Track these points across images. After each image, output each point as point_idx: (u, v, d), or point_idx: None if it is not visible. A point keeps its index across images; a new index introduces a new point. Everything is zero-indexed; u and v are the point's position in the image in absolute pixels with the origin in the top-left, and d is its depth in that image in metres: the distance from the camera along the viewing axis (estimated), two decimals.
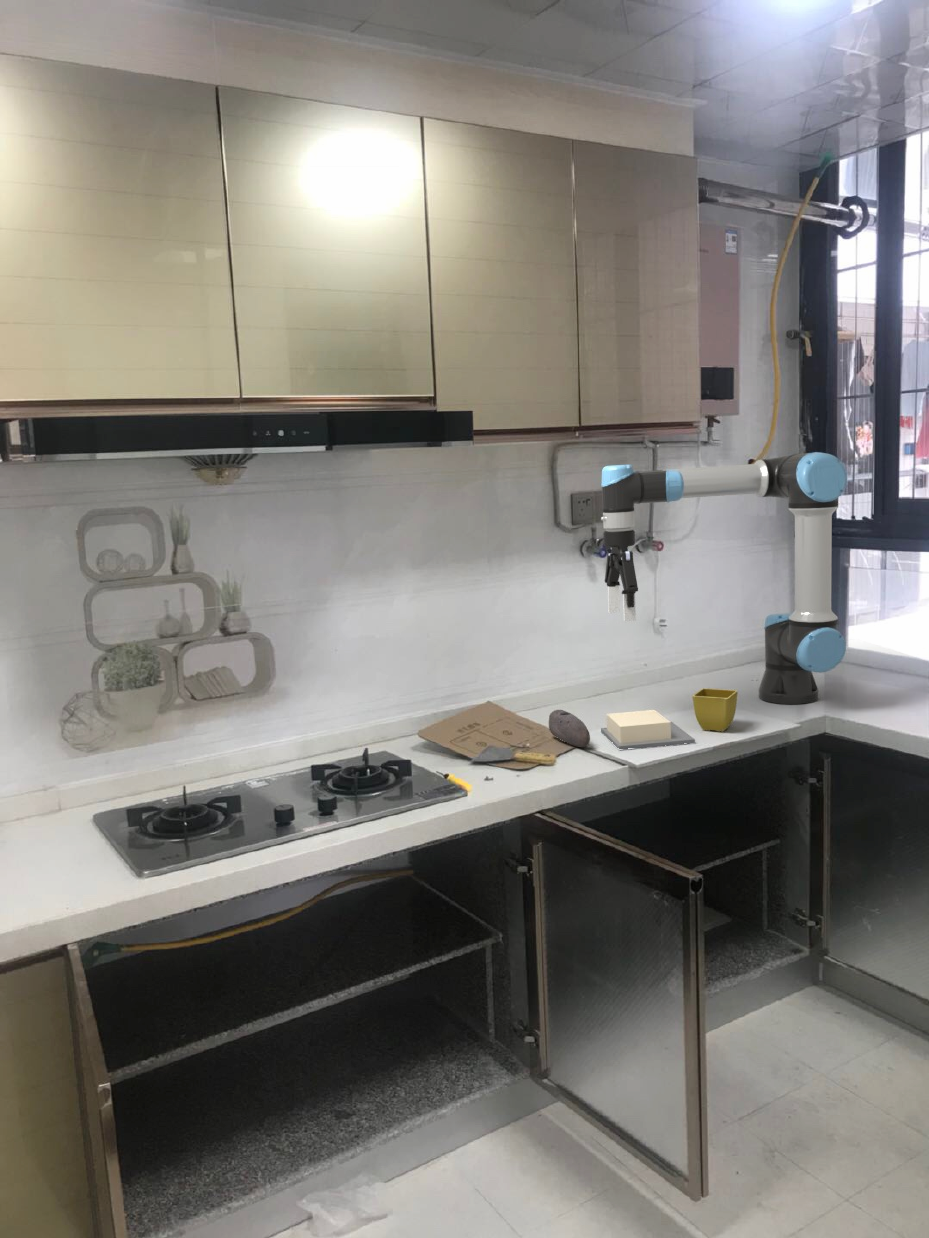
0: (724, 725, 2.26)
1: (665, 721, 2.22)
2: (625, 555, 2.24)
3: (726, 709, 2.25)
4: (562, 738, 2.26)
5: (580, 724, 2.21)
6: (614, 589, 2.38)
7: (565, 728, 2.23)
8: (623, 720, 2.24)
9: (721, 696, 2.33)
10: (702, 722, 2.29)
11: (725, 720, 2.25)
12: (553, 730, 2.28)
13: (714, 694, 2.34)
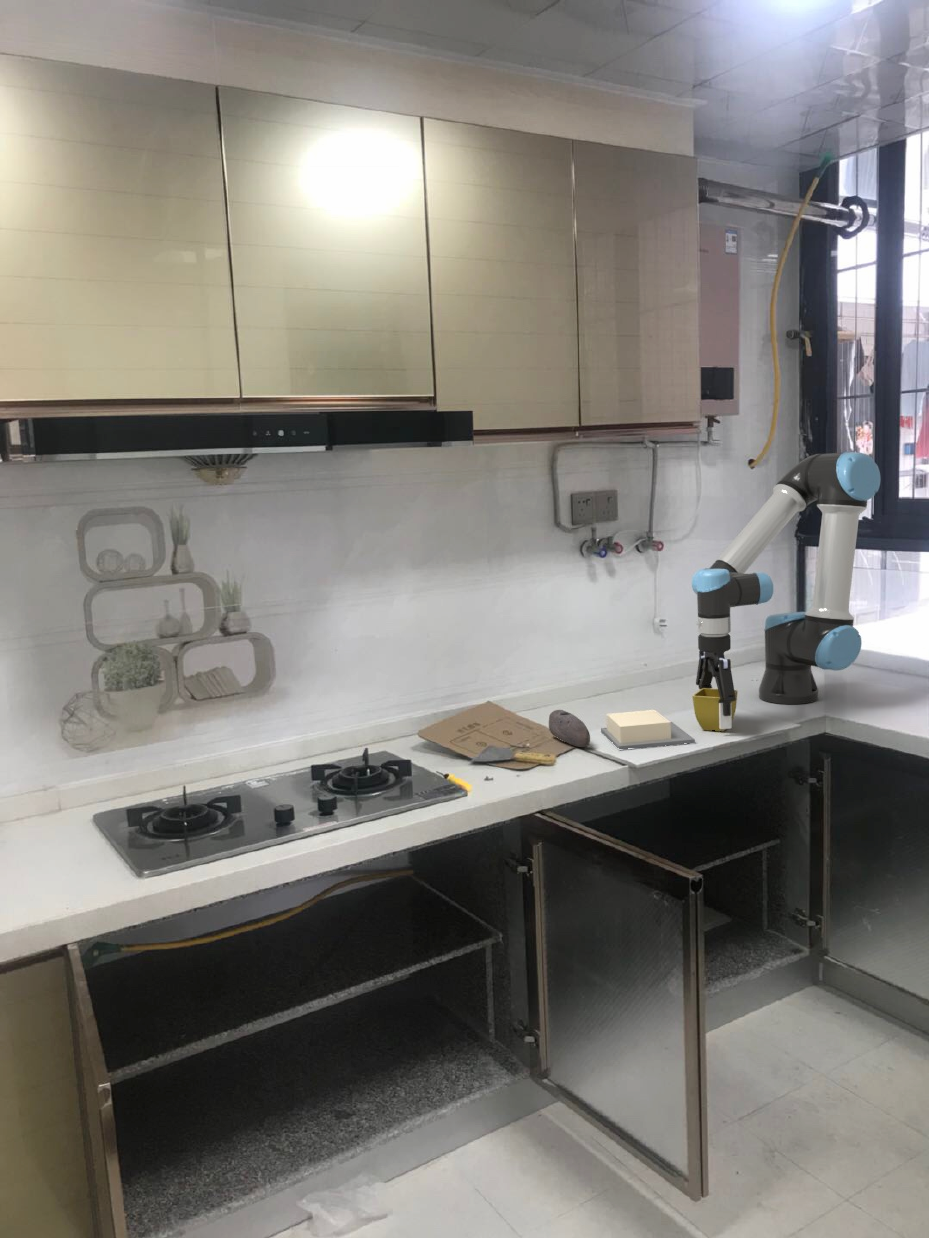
0: None
1: (665, 721, 2.22)
2: (723, 663, 2.21)
3: None
4: (562, 738, 2.25)
5: (580, 724, 2.21)
6: None
7: (565, 728, 2.23)
8: (623, 720, 2.24)
9: None
10: (702, 722, 2.29)
11: None
12: (553, 730, 2.28)
13: (714, 694, 2.34)
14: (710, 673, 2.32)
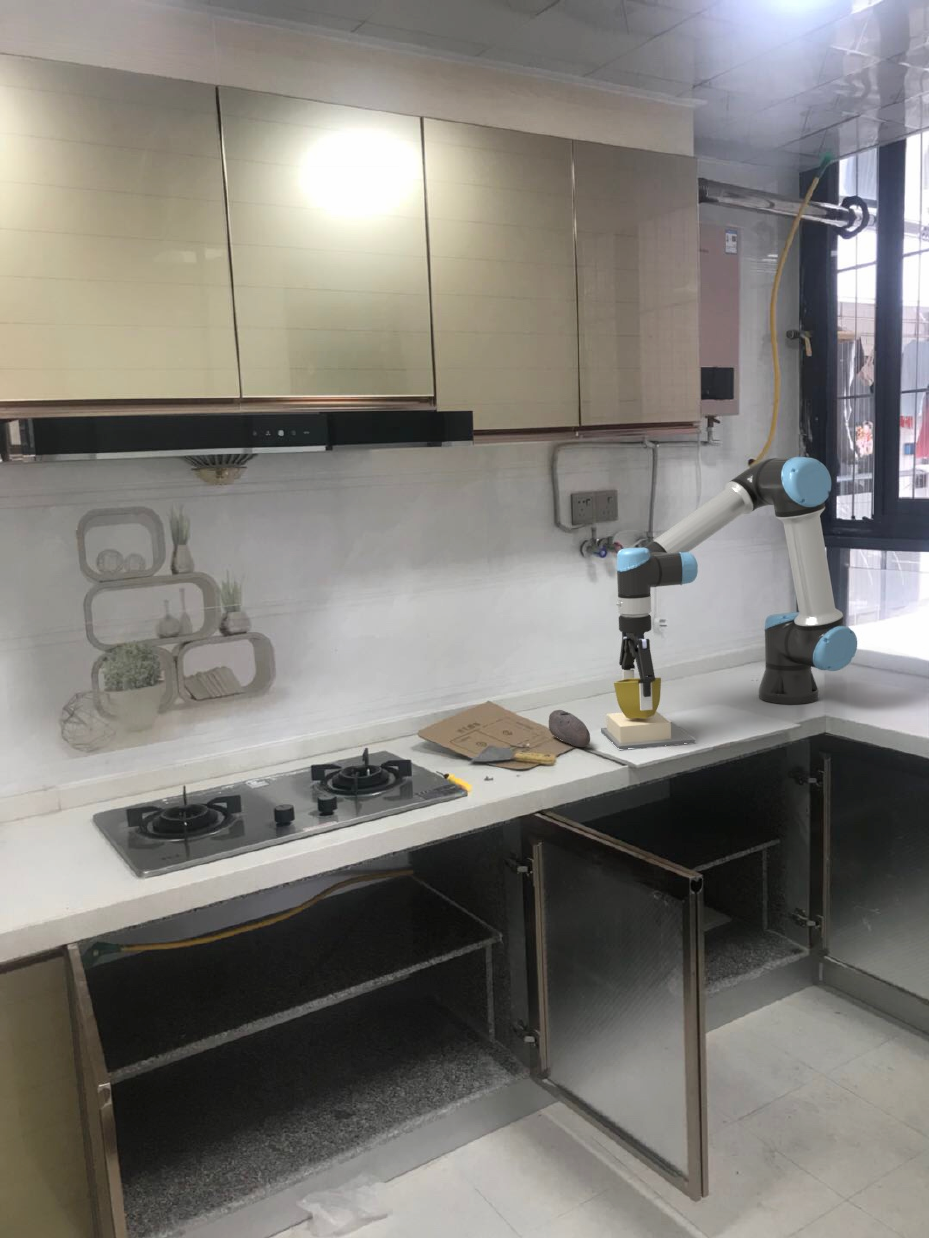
0: (647, 710, 2.20)
1: (665, 721, 2.22)
2: (641, 643, 2.16)
3: None
4: (562, 738, 2.25)
5: (580, 724, 2.20)
6: (629, 673, 2.31)
7: (566, 728, 2.23)
8: (623, 720, 2.24)
9: None
10: (625, 709, 2.22)
11: None
12: (553, 730, 2.28)
13: None
14: (632, 654, 2.27)
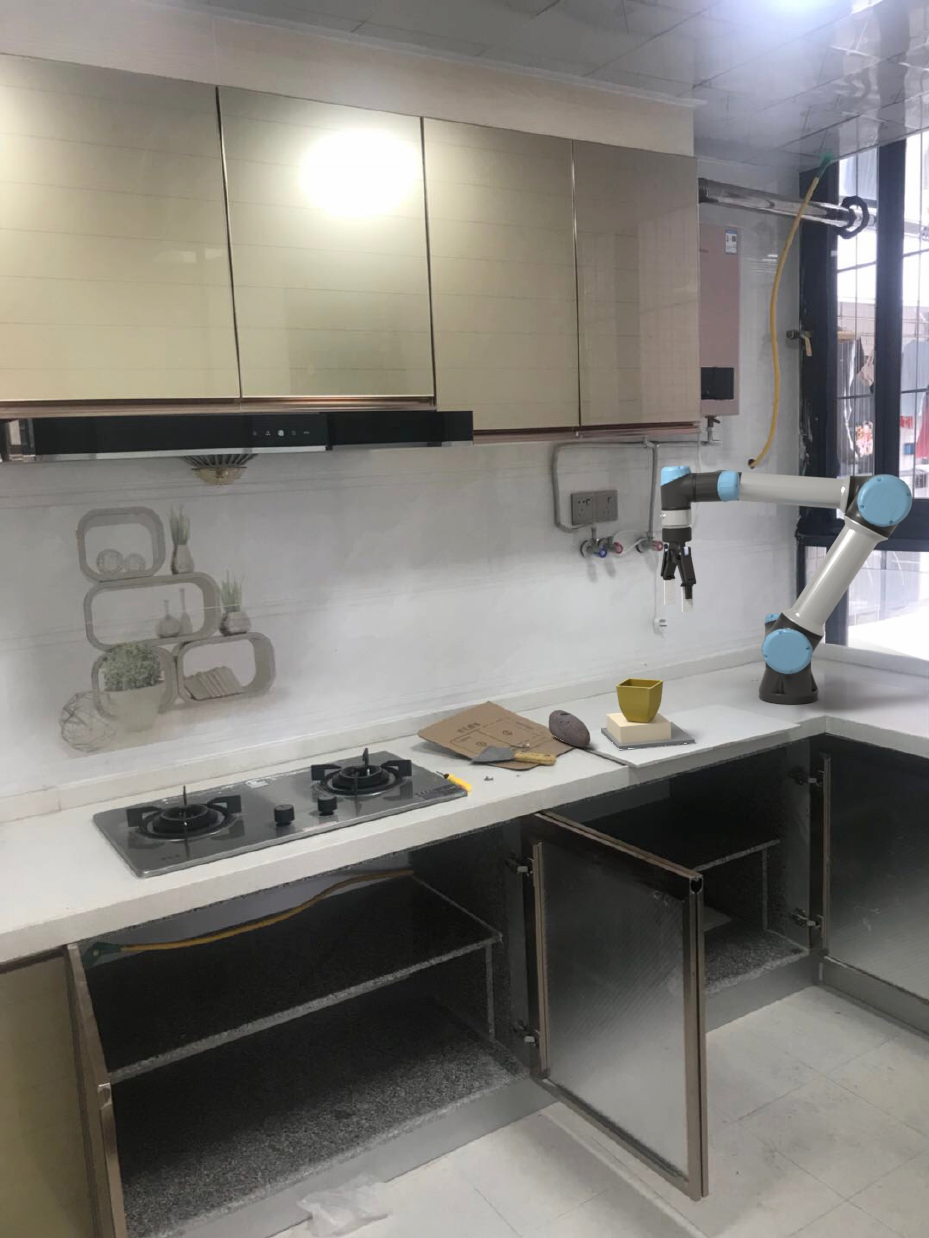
0: (648, 716, 2.20)
1: (665, 721, 2.22)
2: (684, 550, 2.39)
3: (649, 699, 2.18)
4: (562, 738, 2.25)
5: (580, 724, 2.20)
6: (670, 582, 2.54)
7: (566, 728, 2.23)
8: (623, 720, 2.24)
9: (647, 686, 2.26)
10: (626, 713, 2.22)
11: (649, 710, 2.19)
12: (553, 730, 2.28)
13: (639, 684, 2.27)
14: (673, 564, 2.50)
